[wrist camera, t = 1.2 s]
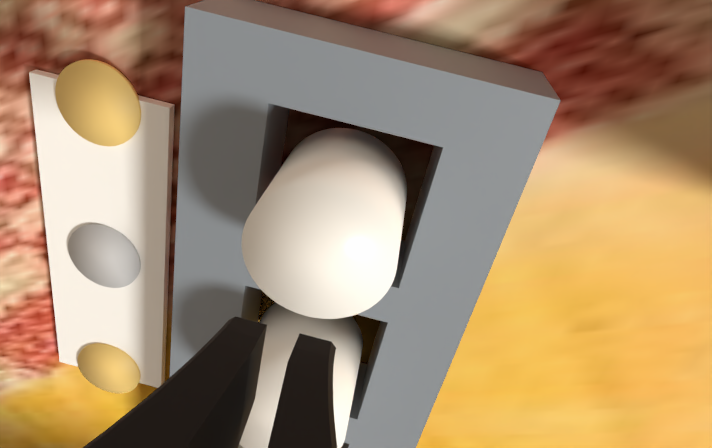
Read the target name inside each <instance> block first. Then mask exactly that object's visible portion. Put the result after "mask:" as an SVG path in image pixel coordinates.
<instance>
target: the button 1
mask: <svg viewBox="0 0 712 448" xmlns="http://www.w3.org/2000/svg"><path fill="white" fill-rule="evenodd" d="M406 199H407V181H406V176H405V173H404V170H403V167H402V165H401V163H400V162H399V160H398V158H397V157H396V155H395V154H394V153H393V152H392V151H391V150H390V148H389V147H388V146H386V145H385V144H384V143H383V142H382V141H380V140H379V139H377V138H375V137H374V136H372V135H370V134H367V133H365V132H362V131H359V130H355V129H350V128H330V129H325V130H321V131H319V132H316V133H314V134H312V135H310V136H308V137H306V138H305V139H303V140H302V141H301V142H300V143H299V144H298V145H297V146H296V147H295V148H294V149H293V150H292V152H291V153H290V155H289V156H288V158H287V159H286V161H285V162H284V164H283V165H282V167H281V168H280V170H279V171H278V173H277V174H276V176H275V177H274V179H273V180H272V182H271V183H270V185H269V186H268V188H267V189H266V191H265V192H264V194H263V195H262V197H261V198H260V200H259V201H258V203H257V204H256V205H255V207H254V208H253V210H252V211H251V213H250V215H249V217H248V218H247V220H246V223H245V226H244V228H243V233H242V245H241V246H242V254H243V258H244V262H245V265H246V267H247V270H248V272H249V273H250V275H251V277H252V279H253V280H254V281H255V283H256V284H257V286H258V287H259V288H260V289H261V290H262V291H263V292H264V293H265V294H266V295H267V296H268V297H270V298H271V299H272V300H273V301H275V302H276V303H278V304H279V305H281V306H283V307H285V308H286V309H288V310H291V311H293V312H295V313H298V314H301V315H304V316H308V317H313V318H321V319H338V318H345V317H349V316H353V315H356V314H359V313H361V312H363V311H365V310H367V309H369V308H371V307H372V306H374V305H375V304H376V303H378V302H379V301H380V300H381V299H382V298H383V297H384V295H385V294H386V293H387V292H388V290H389V288H390V287H391V285H392V283H393V280H394V278H395V275H396V270H397V264H398V257H399V250H400V243H401V235H402V228H403V221H404V214H405V207H406Z"/></svg>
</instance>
